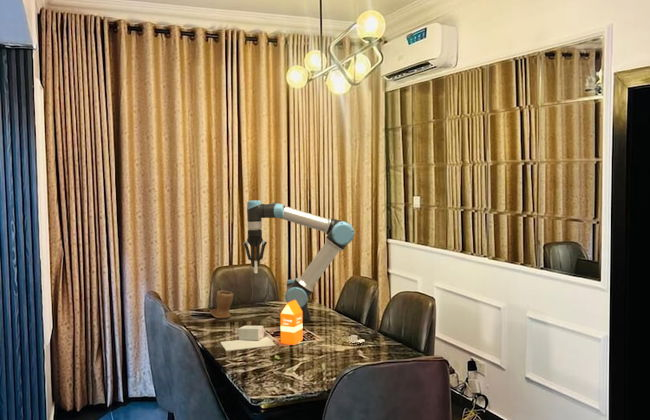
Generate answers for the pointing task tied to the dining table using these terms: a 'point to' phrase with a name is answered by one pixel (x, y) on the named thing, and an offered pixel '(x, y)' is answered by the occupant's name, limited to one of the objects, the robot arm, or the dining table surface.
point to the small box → (251, 332)
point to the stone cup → (222, 304)
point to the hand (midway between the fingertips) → (255, 272)
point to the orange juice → (291, 324)
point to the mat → (247, 344)
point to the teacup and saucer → (354, 339)
